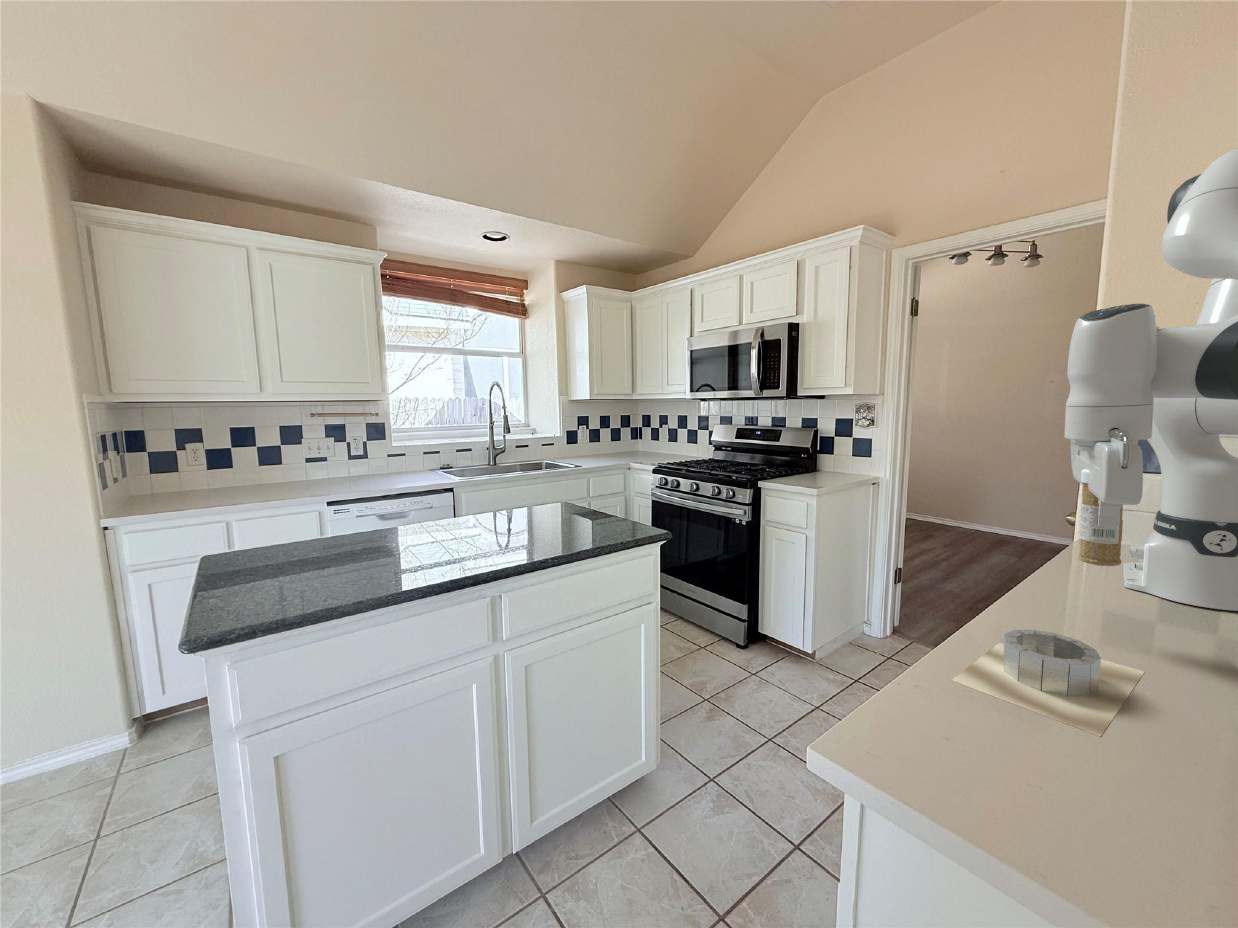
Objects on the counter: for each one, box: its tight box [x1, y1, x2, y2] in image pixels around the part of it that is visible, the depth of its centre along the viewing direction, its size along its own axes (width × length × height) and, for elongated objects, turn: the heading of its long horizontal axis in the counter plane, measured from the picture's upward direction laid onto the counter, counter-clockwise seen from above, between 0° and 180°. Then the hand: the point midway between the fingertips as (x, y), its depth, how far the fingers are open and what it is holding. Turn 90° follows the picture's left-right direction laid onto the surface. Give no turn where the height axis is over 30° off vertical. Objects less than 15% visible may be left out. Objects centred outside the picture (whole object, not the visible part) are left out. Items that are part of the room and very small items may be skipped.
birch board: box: [950, 638, 1145, 738], centre depth 65 cm, size 20×14×1 cm
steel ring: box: [1003, 629, 1102, 697], centre depth 64 cm, size 9×9×4 cm
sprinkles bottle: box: [1078, 469, 1124, 567], centre depth 73 cm, size 5×5×14 cm
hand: (1101, 522), depth 73 cm, fingers closed on sprinkles bottle, 4 cm apart
